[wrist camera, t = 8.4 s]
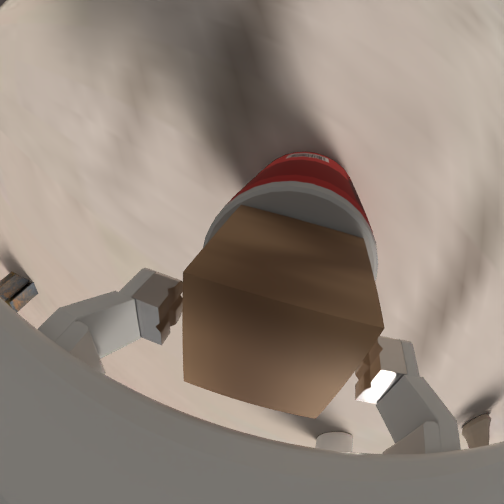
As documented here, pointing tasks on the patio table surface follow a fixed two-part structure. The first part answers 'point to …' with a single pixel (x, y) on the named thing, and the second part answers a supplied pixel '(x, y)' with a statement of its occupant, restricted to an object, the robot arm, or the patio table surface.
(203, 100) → the patio table surface
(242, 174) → the patio table surface
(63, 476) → the robot arm
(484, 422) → the decorative mushroom
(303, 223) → the walnut block
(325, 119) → the patio table surface
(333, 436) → the white bottle
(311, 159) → the canned food
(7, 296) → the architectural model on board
